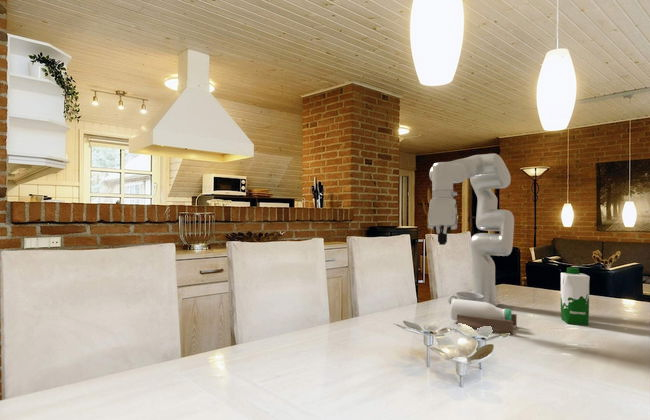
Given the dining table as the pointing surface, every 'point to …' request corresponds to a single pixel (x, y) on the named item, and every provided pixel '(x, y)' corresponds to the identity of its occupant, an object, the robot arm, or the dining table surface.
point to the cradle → (490, 323)
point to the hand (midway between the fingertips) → (442, 244)
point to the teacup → (467, 296)
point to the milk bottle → (478, 310)
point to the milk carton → (575, 297)
